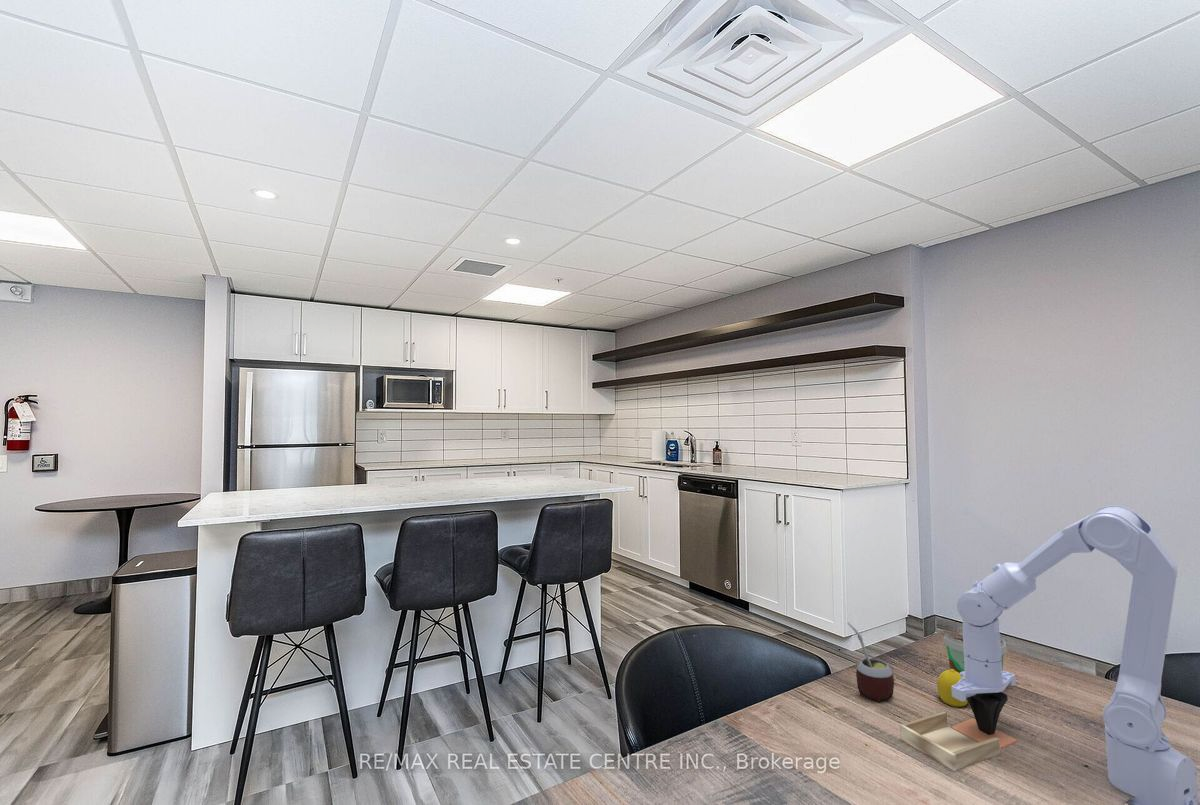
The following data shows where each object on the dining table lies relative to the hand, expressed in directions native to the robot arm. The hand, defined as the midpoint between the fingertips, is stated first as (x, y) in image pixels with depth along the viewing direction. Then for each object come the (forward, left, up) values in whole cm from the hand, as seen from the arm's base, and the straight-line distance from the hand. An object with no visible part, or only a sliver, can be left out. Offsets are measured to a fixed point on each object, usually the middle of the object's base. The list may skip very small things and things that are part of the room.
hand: (986, 731), depth 100 cm
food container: (+14, -19, -2) cm, 24 cm away
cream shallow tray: (0, +10, -2) cm, 10 cm away
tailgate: (0, +4, 0) cm, 4 cm away
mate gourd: (+19, +7, -2) cm, 20 cm away
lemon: (+10, -5, -2) cm, 11 cm away
